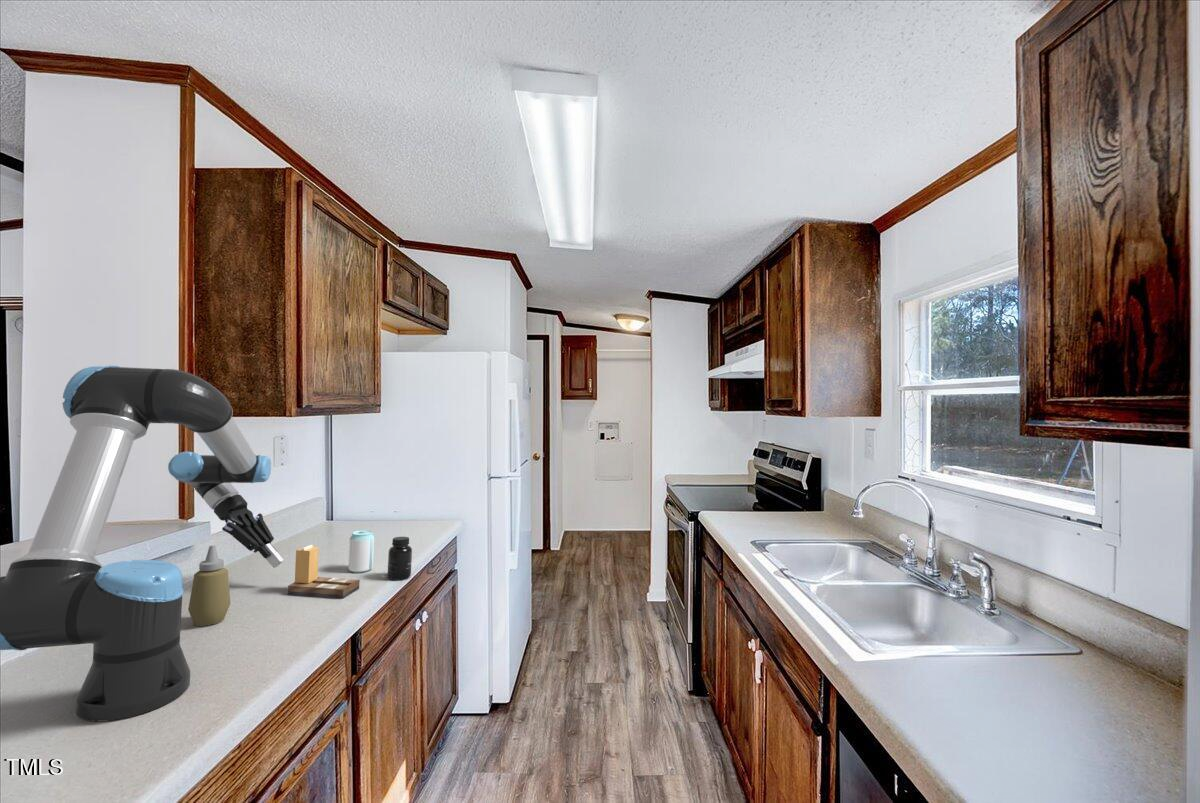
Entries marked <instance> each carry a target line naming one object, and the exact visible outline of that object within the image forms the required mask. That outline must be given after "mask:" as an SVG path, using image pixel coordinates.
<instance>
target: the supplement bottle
mask: <svg viewBox="0 0 1200 803" xmlns="http://www.w3.org/2000/svg"><path fill="white" fill-rule="evenodd" d="M387 555H388V556H387V576H386V577H387V579H388V580H390V581H403V580H404V581H405V580H407V579H409V578H410V577H411V575H412V561H413V560H412V558H413V548H412V546H410V537H408V536H395V537H393V538H392V543H391V547H390V548H389V549H388V553H387Z"/></svg>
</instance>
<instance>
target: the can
mask: <svg viewBox="0 0 1200 803" xmlns="http://www.w3.org/2000/svg"><path fill="white" fill-rule="evenodd" d="M374 546H375V536H374V534H373V531H372V530H363V529H362V530H356V531H353V532H352V534H351V536H350V537H349V546H348V547H349V551H348V570H349V572H352V573H355V574H363V573H366V572H370V571H371V570H372V569H373V568H374V551H375V550H374V548H375V547H374Z"/></svg>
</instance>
